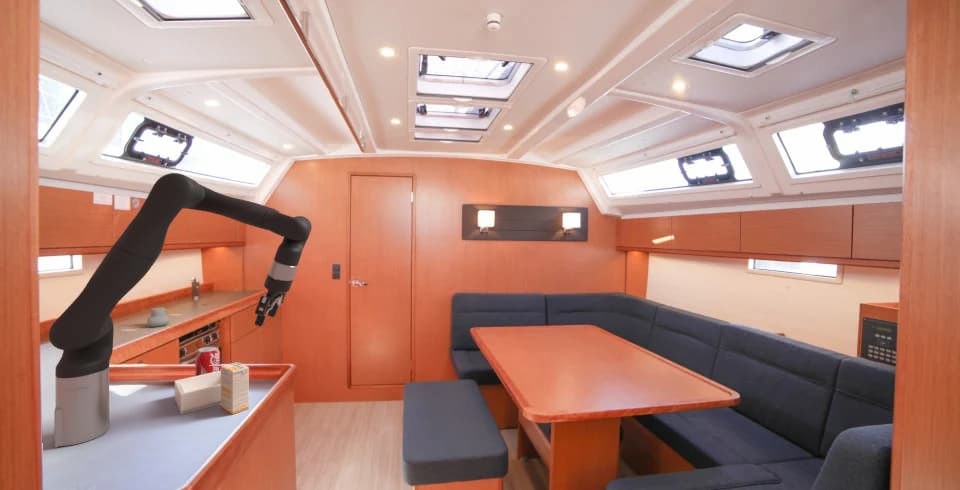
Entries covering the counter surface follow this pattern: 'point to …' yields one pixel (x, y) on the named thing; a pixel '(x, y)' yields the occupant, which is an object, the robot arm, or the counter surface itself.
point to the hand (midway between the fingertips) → (264, 320)
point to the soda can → (207, 360)
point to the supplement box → (234, 387)
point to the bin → (198, 392)
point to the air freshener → (158, 317)
